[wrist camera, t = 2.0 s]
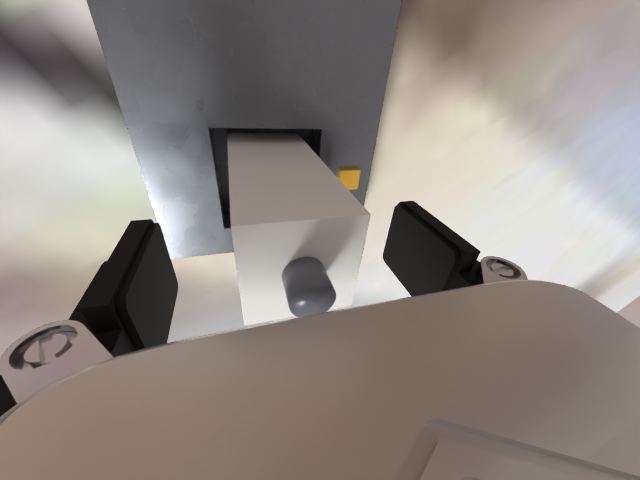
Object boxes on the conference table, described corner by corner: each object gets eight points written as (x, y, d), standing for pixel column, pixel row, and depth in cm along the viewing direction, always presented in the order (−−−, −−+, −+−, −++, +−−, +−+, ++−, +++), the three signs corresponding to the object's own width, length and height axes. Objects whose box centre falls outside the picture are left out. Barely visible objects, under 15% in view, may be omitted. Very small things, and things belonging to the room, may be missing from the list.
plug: (227, 132, 15) (231, 254, 6) (297, 133, 16) (390, 236, 7) (236, 209, 17) (248, 371, 9) (295, 205, 18) (361, 345, 10)
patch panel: (-31, -490, 6) (-174, -794, 4) (416, -267, 9) (474, -364, 7) (175, 235, 17) (168, 262, 15) (345, 220, 21) (359, 240, 18)
